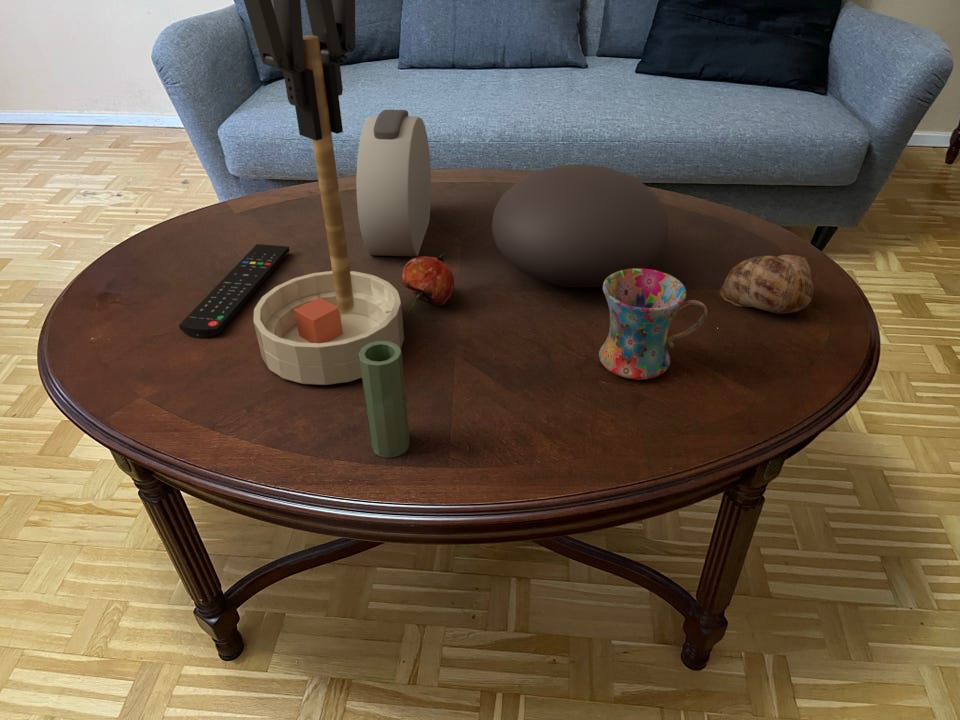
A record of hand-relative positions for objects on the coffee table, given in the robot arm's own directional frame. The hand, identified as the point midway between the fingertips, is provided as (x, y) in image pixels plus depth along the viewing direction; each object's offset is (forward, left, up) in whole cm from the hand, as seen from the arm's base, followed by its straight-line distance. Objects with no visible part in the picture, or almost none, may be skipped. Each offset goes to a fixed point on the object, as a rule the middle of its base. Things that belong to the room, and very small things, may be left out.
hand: (321, 133), depth 73 cm
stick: (0, 0, -21) cm, 21 cm away
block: (0, +6, -27) cm, 28 cm away
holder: (-8, -16, -28) cm, 33 cm away
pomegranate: (+15, +1, -28) cm, 32 cm away
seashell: (+45, -34, -28) cm, 63 cm away
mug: (+22, -29, -28) cm, 46 cm away
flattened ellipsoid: (+36, -9, -28) cm, 46 cm away
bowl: (0, +3, -28) cm, 28 cm away
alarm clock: (+27, +19, -28) cm, 43 cm away
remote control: (0, +24, -28) cm, 37 cm away
